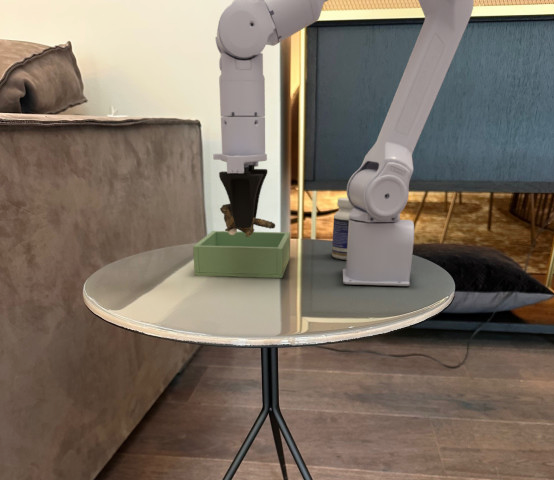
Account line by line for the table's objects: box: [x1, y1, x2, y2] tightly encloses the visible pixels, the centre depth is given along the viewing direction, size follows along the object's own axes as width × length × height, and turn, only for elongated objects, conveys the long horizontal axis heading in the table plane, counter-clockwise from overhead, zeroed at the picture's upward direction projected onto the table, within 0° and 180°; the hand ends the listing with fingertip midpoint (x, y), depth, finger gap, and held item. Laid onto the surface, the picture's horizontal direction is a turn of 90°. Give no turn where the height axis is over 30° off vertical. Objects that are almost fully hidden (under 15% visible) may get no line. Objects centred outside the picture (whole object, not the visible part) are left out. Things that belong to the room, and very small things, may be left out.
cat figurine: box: [219, 203, 276, 237], centre depth 73 cm, size 3×8×4 cm, turn 82°
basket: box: [192, 230, 291, 279], centre depth 85 cm, size 14×14×4 cm
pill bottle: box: [331, 197, 353, 261], centre depth 91 cm, size 6×6×10 cm
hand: (245, 225), depth 73 cm, fingers closed on cat figurine, 3 cm apart
